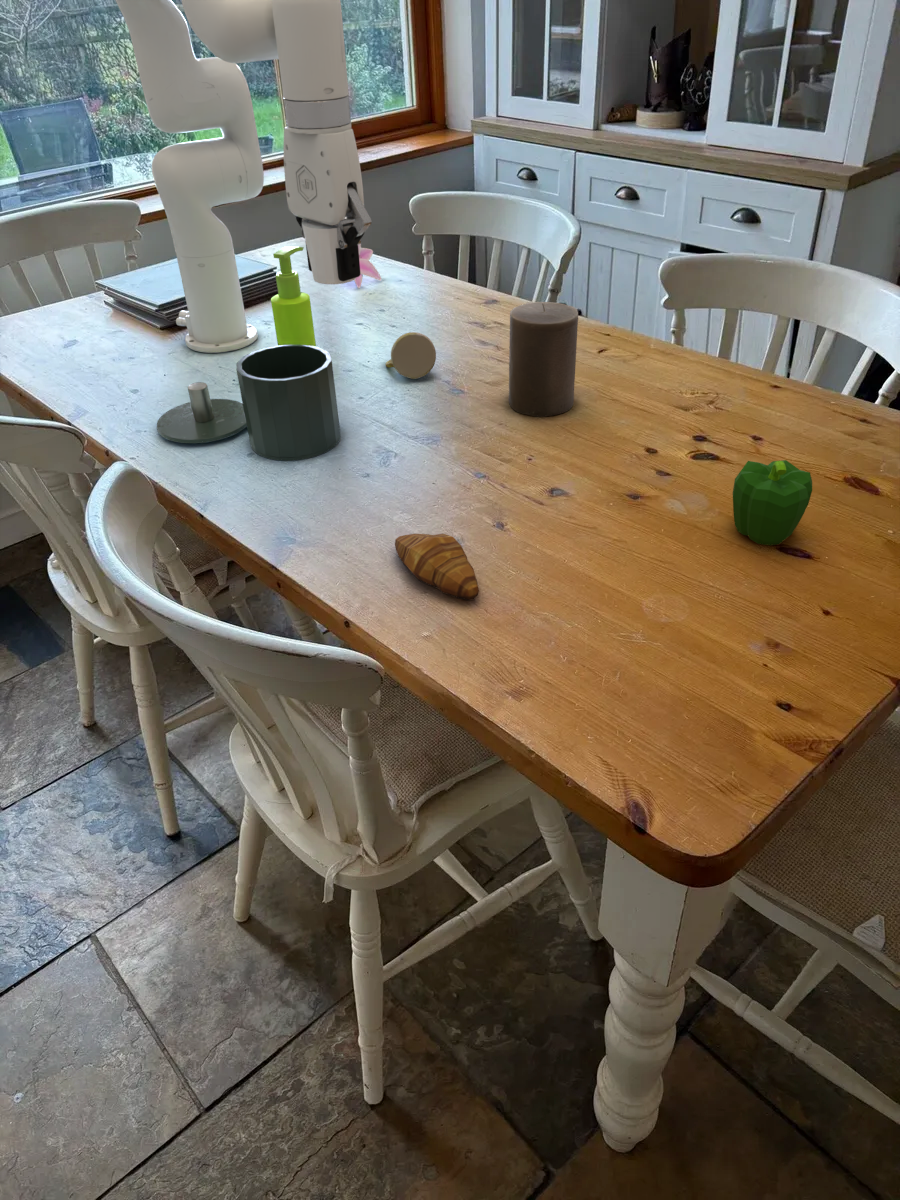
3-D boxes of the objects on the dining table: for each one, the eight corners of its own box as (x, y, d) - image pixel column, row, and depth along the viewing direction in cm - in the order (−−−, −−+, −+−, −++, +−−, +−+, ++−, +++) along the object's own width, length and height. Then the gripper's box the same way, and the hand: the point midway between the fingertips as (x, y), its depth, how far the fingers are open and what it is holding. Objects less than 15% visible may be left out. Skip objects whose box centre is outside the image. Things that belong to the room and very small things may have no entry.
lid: (142, 444, 124) (131, 403, 120) (182, 404, 134) (173, 365, 131) (232, 449, 122) (223, 408, 118) (265, 408, 132) (259, 369, 128)
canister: (237, 458, 120) (221, 378, 113) (269, 417, 130) (256, 342, 123) (325, 463, 118) (314, 383, 111) (350, 422, 127) (342, 345, 121)
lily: (327, 298, 175) (343, 257, 169) (308, 261, 180) (323, 220, 174) (378, 305, 182) (396, 266, 176) (358, 269, 187) (375, 230, 181)
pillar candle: (530, 422, 125) (533, 319, 116) (496, 398, 132) (496, 299, 123) (586, 407, 129) (593, 306, 120) (550, 384, 136) (554, 287, 127)
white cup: (370, 271, 114) (365, 214, 110) (349, 287, 109) (343, 229, 105) (322, 267, 116) (315, 211, 112) (299, 283, 111) (292, 226, 107)
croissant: (500, 590, 93) (500, 552, 90) (451, 616, 90) (449, 577, 87) (423, 538, 102) (421, 501, 99) (376, 560, 99) (372, 523, 96)
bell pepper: (736, 508, 105) (750, 432, 99) (806, 524, 102) (826, 447, 96) (715, 542, 100) (729, 464, 94) (789, 561, 96) (809, 481, 90)
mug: (430, 356, 147) (442, 314, 138) (425, 402, 143) (437, 361, 134) (387, 347, 146) (396, 304, 137) (380, 393, 142) (389, 352, 133)
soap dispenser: (330, 372, 142) (314, 245, 130) (307, 388, 137) (289, 258, 125) (299, 367, 144) (281, 241, 132) (276, 383, 140) (255, 254, 127)
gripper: (248, 112, 104) (271, 267, 115) (340, 127, 94) (355, 295, 106) (298, 103, 108) (315, 254, 119) (391, 117, 99) (401, 280, 110)
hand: (334, 272), depth 112 cm, fingers closed on white cup, 5 cm apart
